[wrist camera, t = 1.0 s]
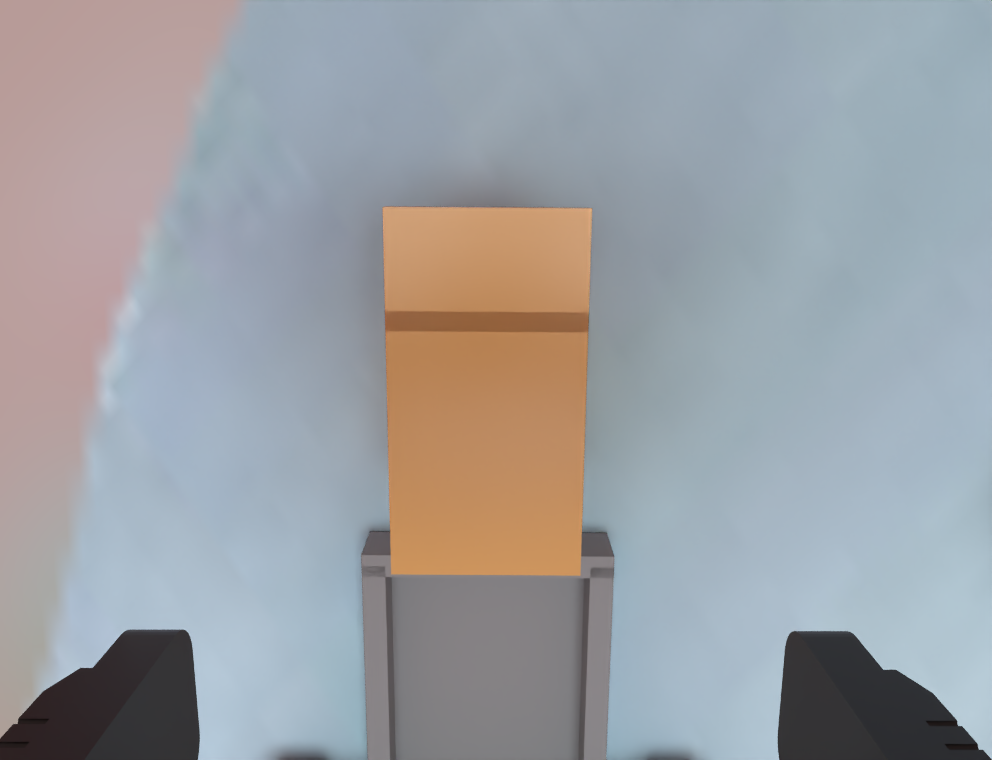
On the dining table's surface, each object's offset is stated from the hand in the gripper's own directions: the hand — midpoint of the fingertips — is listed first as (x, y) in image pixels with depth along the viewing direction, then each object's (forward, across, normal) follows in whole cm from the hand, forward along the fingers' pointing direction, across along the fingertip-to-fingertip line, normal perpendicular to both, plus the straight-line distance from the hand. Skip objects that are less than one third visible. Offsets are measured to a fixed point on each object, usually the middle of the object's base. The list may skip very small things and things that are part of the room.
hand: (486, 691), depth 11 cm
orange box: (+18, 0, -2) cm, 18 cm away
